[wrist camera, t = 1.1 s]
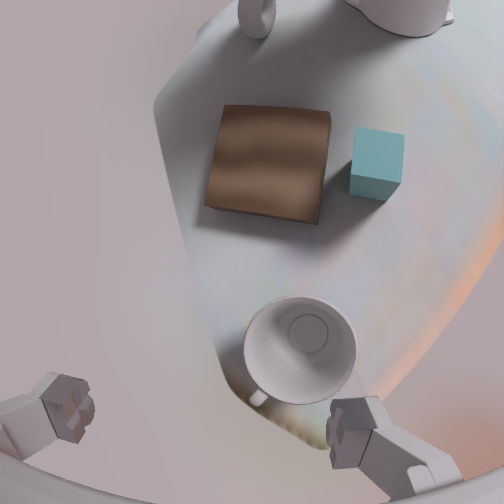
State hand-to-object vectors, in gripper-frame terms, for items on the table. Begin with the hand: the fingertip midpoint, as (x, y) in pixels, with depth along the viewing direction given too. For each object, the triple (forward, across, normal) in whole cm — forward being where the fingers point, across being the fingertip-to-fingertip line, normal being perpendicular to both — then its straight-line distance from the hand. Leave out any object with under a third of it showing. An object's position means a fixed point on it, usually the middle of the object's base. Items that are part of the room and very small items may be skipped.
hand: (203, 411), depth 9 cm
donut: (+43, -2, -32) cm, 53 cm away
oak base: (+36, -3, -8) cm, 37 cm away
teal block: (+33, -16, -7) cm, 37 cm away
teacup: (+30, -8, +14) cm, 34 cm away
